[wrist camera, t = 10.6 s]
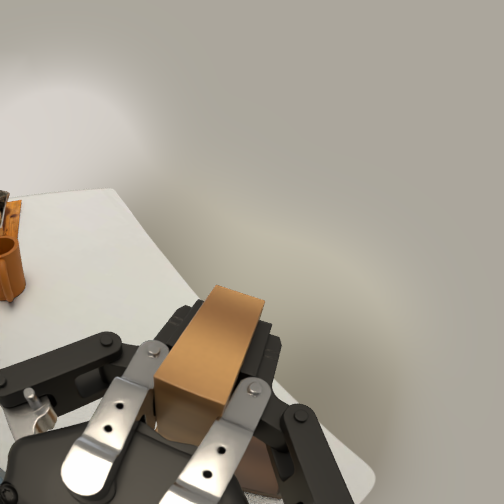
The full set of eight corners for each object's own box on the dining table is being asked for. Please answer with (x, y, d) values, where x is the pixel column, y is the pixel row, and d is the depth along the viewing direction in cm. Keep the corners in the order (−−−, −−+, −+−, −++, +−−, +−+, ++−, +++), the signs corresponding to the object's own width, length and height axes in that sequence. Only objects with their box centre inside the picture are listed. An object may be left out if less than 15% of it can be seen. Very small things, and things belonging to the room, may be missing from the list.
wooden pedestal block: (219, 498, 11) (263, 431, 7) (139, 467, 12) (110, 368, 8) (248, 414, 18) (294, 302, 13) (182, 390, 18) (194, 270, 14)
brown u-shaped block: (280, 499, 23) (287, 494, 21) (213, 482, 24) (216, 476, 22) (294, 434, 32) (300, 425, 30) (236, 418, 32) (240, 408, 31)
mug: (-14, 314, 32) (-28, 271, 28) (-8, 277, 40) (-17, 238, 36) (26, 308, 37) (15, 264, 33) (26, 272, 45) (20, 232, 41)
